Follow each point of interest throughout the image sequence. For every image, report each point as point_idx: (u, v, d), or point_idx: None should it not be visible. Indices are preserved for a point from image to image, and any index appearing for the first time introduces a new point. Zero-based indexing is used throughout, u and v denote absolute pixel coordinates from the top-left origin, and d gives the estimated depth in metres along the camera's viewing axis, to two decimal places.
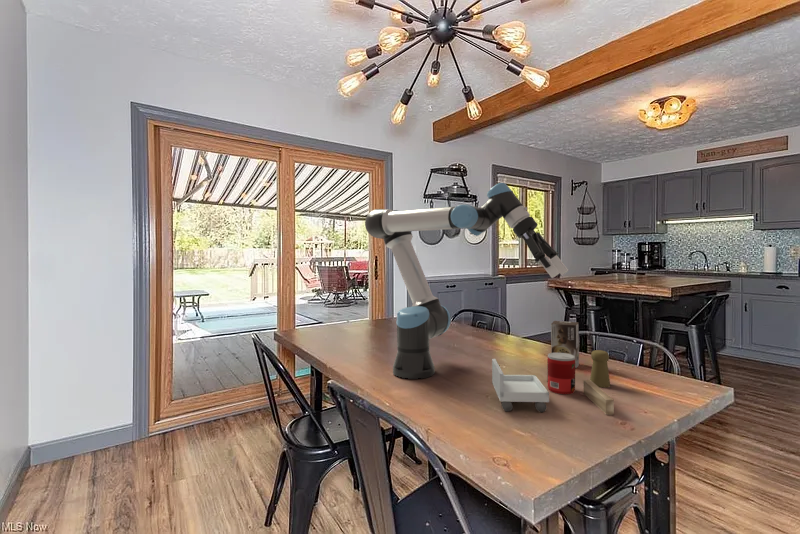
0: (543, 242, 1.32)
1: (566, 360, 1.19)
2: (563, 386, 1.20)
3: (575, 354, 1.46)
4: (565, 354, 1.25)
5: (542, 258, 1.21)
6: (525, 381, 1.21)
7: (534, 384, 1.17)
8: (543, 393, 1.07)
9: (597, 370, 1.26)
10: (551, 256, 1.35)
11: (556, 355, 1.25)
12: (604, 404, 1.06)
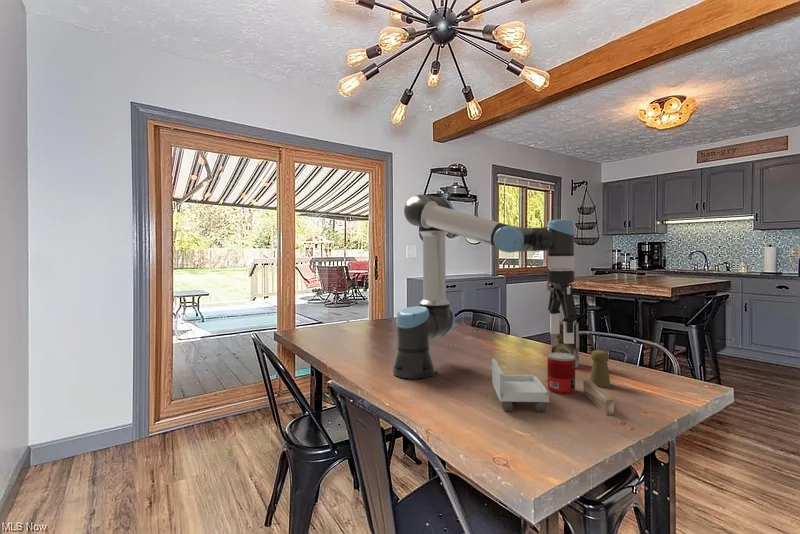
0: None
1: (566, 360, 1.19)
2: (563, 386, 1.20)
3: (575, 354, 1.46)
4: (565, 354, 1.25)
5: (571, 322, 1.14)
6: (525, 381, 1.21)
7: (534, 384, 1.17)
8: (543, 393, 1.07)
9: (597, 370, 1.26)
10: (553, 311, 1.30)
11: (556, 355, 1.25)
12: (604, 404, 1.06)
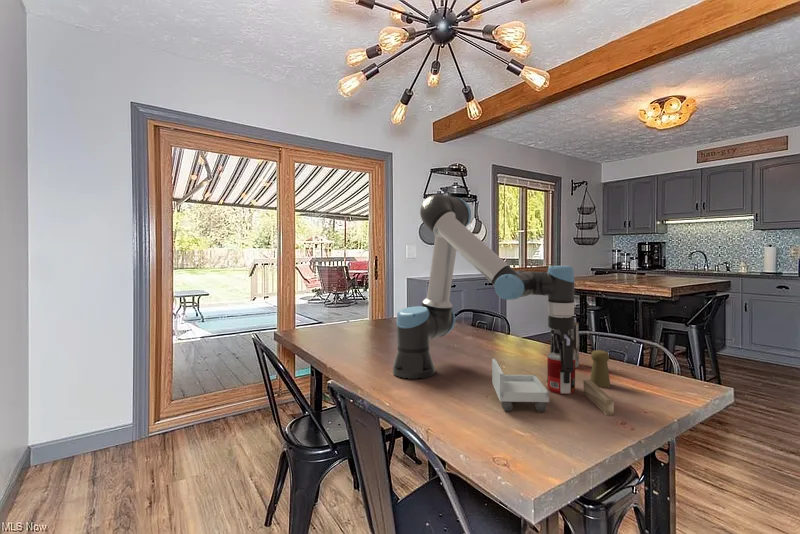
0: None
1: None
2: None
3: (575, 354, 1.46)
4: None
5: (568, 373, 1.18)
6: (525, 381, 1.21)
7: (534, 384, 1.17)
8: (543, 393, 1.07)
9: (597, 370, 1.26)
10: None
11: (556, 355, 1.25)
12: (604, 404, 1.06)
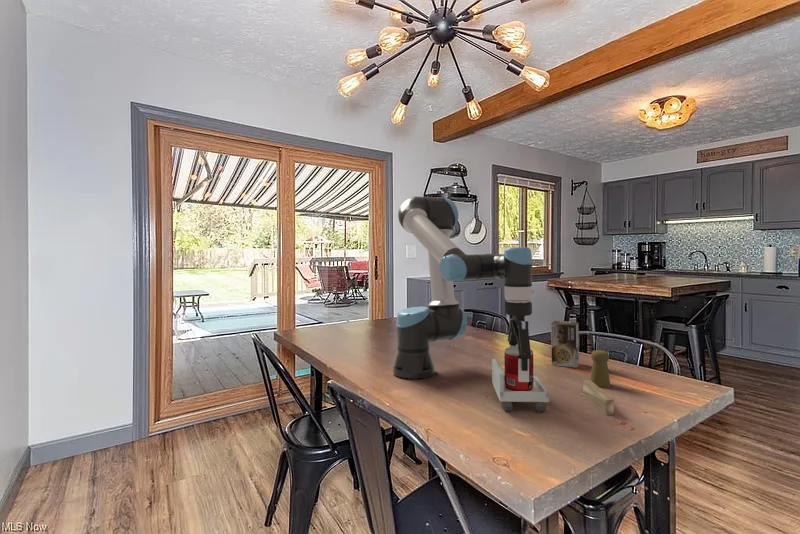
0: None
1: None
2: (520, 383, 1.11)
3: (575, 354, 1.46)
4: None
5: (525, 359, 1.06)
6: None
7: (534, 384, 1.17)
8: (543, 393, 1.07)
9: (597, 370, 1.26)
10: (512, 343, 1.21)
11: (514, 350, 1.16)
12: (604, 404, 1.06)
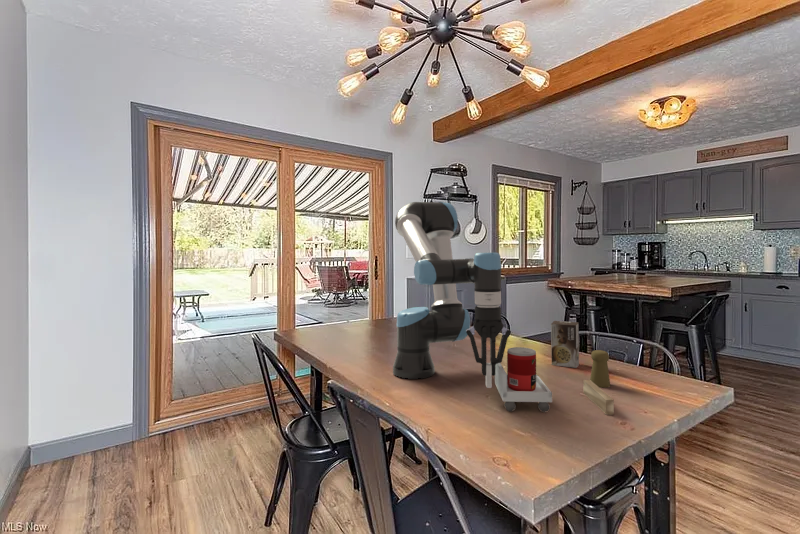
0: (491, 339, 1.14)
1: (525, 355, 1.11)
2: (522, 383, 1.11)
3: (575, 354, 1.46)
4: (526, 349, 1.16)
5: None
6: None
7: (537, 384, 1.17)
8: (546, 393, 1.07)
9: (597, 370, 1.26)
10: None
11: (516, 350, 1.16)
12: (604, 404, 1.06)
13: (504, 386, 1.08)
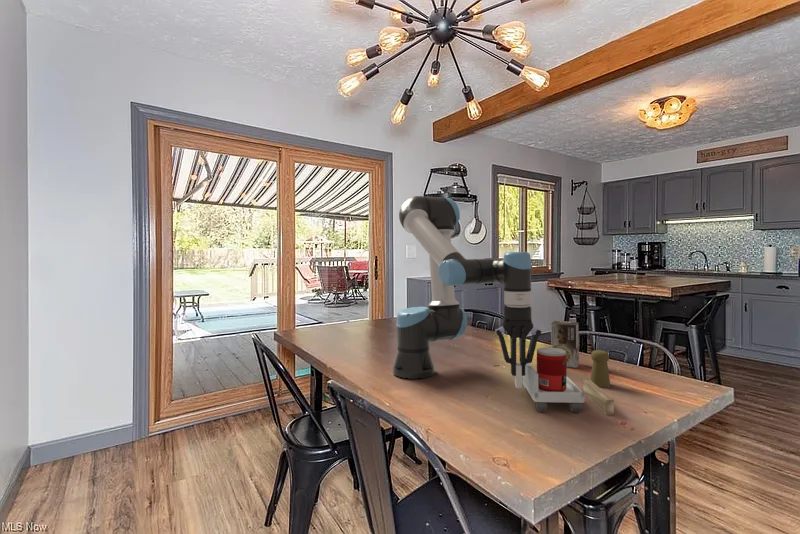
0: (521, 339, 1.13)
1: (556, 355, 1.10)
2: (553, 384, 1.10)
3: (575, 354, 1.46)
4: (556, 349, 1.16)
5: (511, 364, 1.14)
6: None
7: (566, 384, 1.17)
8: (578, 394, 1.06)
9: (597, 370, 1.26)
10: (520, 361, 1.15)
11: (546, 350, 1.15)
12: (604, 404, 1.06)
13: (536, 386, 1.07)
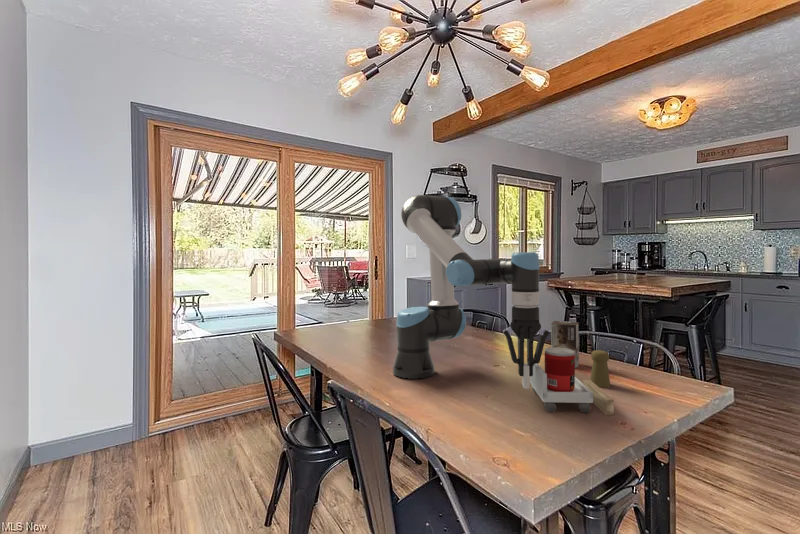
0: (528, 340, 1.13)
1: (565, 355, 1.10)
2: (562, 384, 1.10)
3: (575, 354, 1.46)
4: (564, 349, 1.15)
5: (518, 365, 1.14)
6: None
7: None
8: (587, 394, 1.06)
9: (597, 370, 1.26)
10: None
11: (554, 350, 1.15)
12: (604, 404, 1.06)
13: (544, 387, 1.07)
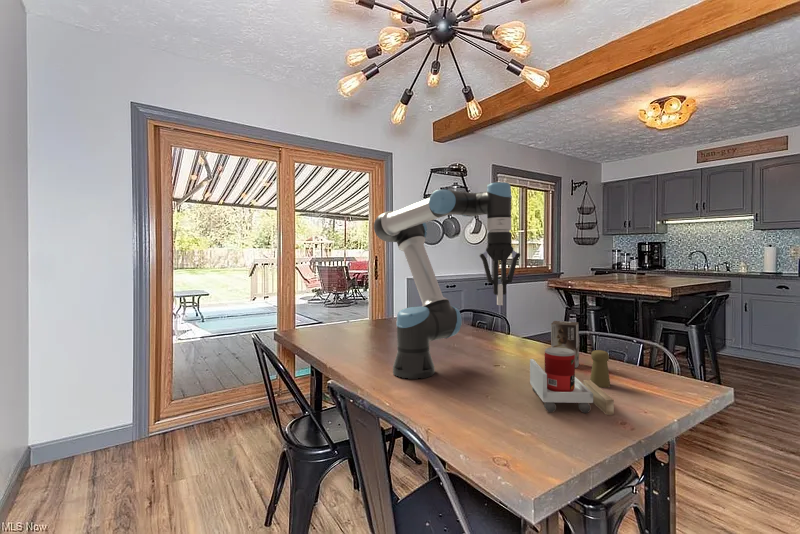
0: (502, 261, 1.26)
1: (565, 355, 1.10)
2: (562, 384, 1.10)
3: (575, 354, 1.46)
4: (564, 349, 1.15)
5: (493, 285, 1.28)
6: None
7: None
8: (587, 394, 1.06)
9: (597, 370, 1.26)
10: (501, 282, 1.28)
11: (554, 350, 1.15)
12: (604, 404, 1.06)
13: (544, 387, 1.07)
